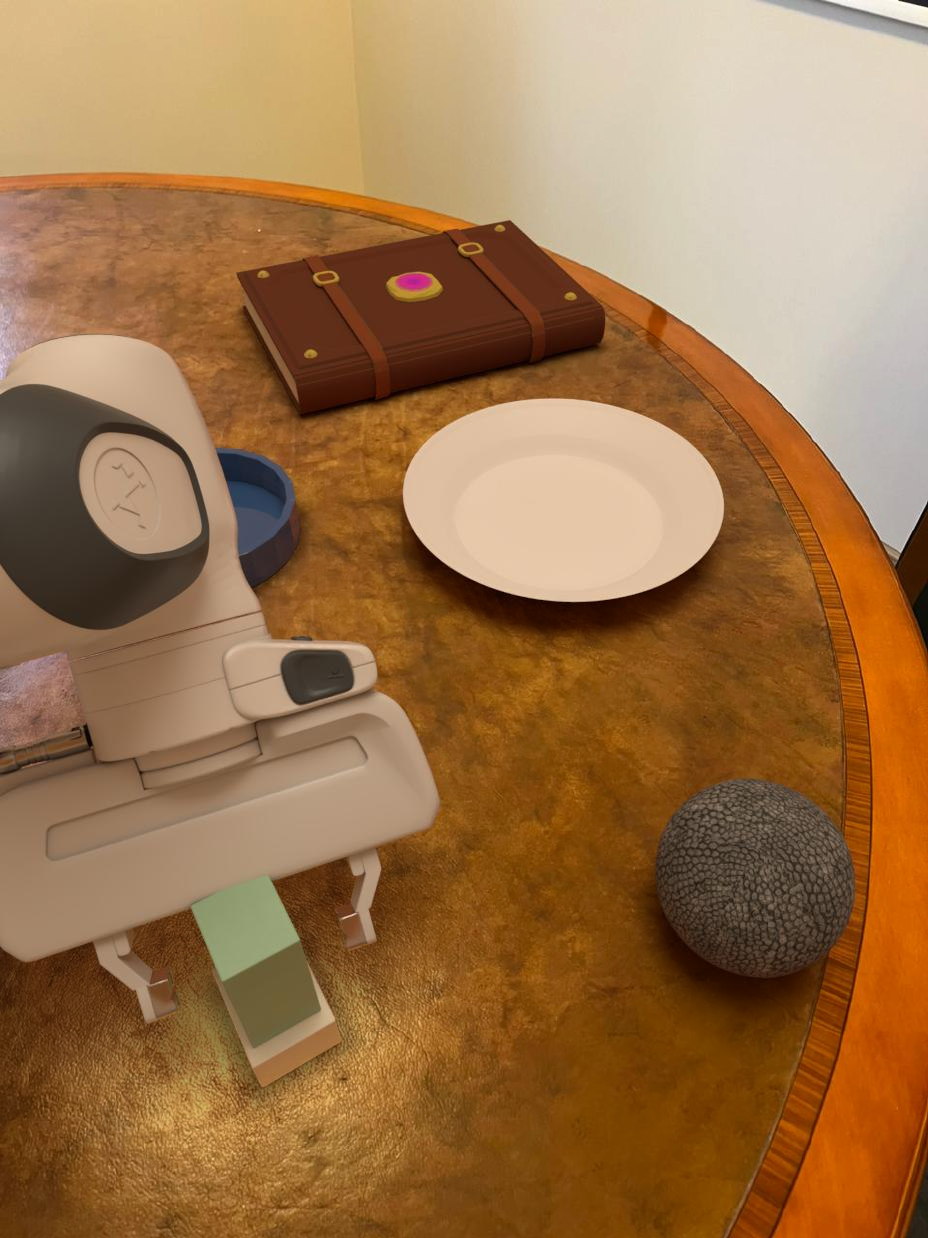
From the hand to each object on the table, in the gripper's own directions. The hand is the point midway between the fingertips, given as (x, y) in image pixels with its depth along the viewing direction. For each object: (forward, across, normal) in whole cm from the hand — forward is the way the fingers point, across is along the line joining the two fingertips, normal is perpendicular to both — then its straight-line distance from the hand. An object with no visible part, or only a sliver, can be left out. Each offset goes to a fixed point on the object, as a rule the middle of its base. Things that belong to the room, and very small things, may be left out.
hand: (265, 977), depth 44 cm
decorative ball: (+7, +25, +2) cm, 26 cm away
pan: (-24, +3, +32) cm, 40 cm away
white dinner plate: (-18, +30, +26) cm, 44 cm away
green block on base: (+4, 0, +5) cm, 6 cm away
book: (-41, +29, +50) cm, 71 cm away
